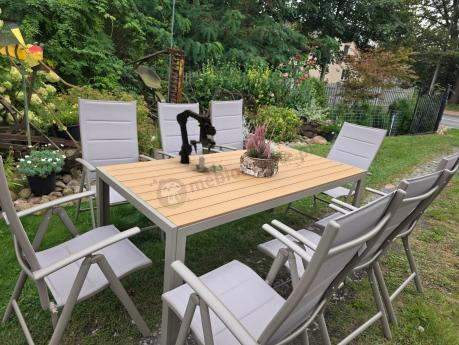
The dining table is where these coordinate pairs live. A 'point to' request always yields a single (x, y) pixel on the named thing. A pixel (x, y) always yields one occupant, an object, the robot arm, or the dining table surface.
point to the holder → (217, 167)
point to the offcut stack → (203, 170)
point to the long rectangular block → (201, 162)
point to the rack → (199, 168)
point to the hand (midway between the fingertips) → (202, 153)
